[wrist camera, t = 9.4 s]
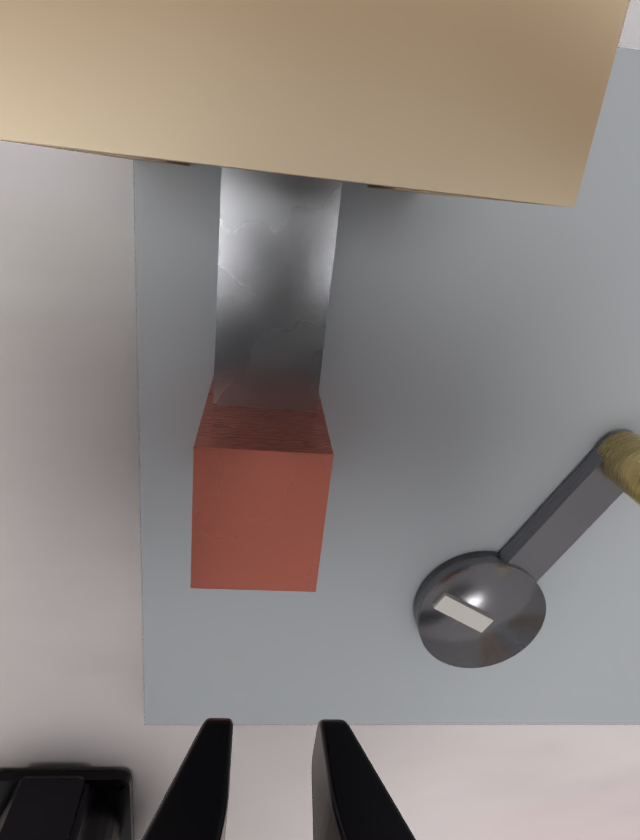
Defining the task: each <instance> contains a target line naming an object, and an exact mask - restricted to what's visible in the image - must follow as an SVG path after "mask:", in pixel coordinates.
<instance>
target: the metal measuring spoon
mask: <svg viewBox="0 0 640 840" xmlns="http://www.w3.org/2000/svg"><path fill="white" fill-rule="evenodd" d="M623 492H624V493H625V494H626V495H628V496H629V497H630V498H631V499H632V500H633V501H634V502H636V503H637V504H638V505H639V506H640V436H639V435H638V434H636V433H634V432H631V431H622V432H618V433H615V434H611V433H609V434H608V435H607V436H606V437H605V438H604V439H603V440H602V441H601V442H600V443H599V445H598V446H597V447H596V448H595V449H594V450H593V451H592V452H591V453H590V454H589V455H588V457H587V458H586V459H585V460H584V461H583V462H582V463H581V464H580V465H579V466H578V468H577V469H576V470H575V471H574V472H573V473H572V474H571V475H570V476H569V477H568V478H567V480H566V481H565V482H564V483H563V484H562V485H561V486H560V487H559V488H558V489H557V490H556V492H555V493H554V494H553V495H552V496H551V497H550V498H549V499H548V500H547V501H546V502H545V504H544V505H543V506H542V507H541V508H540V509H539V510H538V511H537V512H536V513H535V515H534V516H533V517H532V518H531V519H530V520H529V521H528V522H527V523H526V524H525V525H524V527H523V528H522V529H521V530H520V531H519V532H518V533H517V534H516V535H515V536H514V537H513V539H512V540H511V541H510V542H509V543H508V544H507V545H506V546H505V547H504V548H503V549H502V551H501V552H495V551H475V552H469V553H465V554H461V555H459V556H456V557H453V558H451V559H449V560H447V561H445V562H444V563H442V564H441V565H439V566H438V567H437V568H435V569H434V570H433V571H432V572H431V573H430V574H429V575H428V576H427V577H426V578H425V579H424V581H423V582H422V583H421V585H420V587H419V588H418V590H417V593H416V595H415V599H414V603H413V615H414V619H415V623H416V626H417V629H418V632H419V635H420V638H421V640H422V643H423V645H424V646H425V648H426V649H427V651H428V652H429V653H430V654H431V655H432V656H433V657H435V658H436V659H437V660H439V661H441V662H443V663H445V664H448V665H451V666H455V667H460V668H481V667H487V666H491V665H495V664H498V663H500V662H503V661H505V660H507V659H509V658H511V657H513V656H515V655H516V654H518V653H519V652H521V651H522V650H523V649H525V648H526V647H527V646H528V645H529V644H530V643H531V642H532V641H533V640H534V638H535V637H536V636H537V634H538V633H539V631H540V629H541V627H542V625H543V622H544V620H545V615H546V600H545V597H544V594H543V592H542V590H541V588H540V587H539V585H538V584H537V581H538V580H539V579H540V578H541V577H542V576H543V575H544V574H545V573H546V572H547V571H548V570H549V569H550V568H551V567H552V566H553V565H554V564H555V563H556V562H557V560H558V559H559V558H560V557H561V556H562V555H563V554H564V553H565V552H566V551H567V550H568V549H569V548H570V547H571V546H572V545H573V544H574V543H575V542H576V541H577V540H578V539H579V538H580V537H581V536H582V535H583V533H584V532H585V531H586V530H587V529H588V528H589V527H590V526H591V525H592V524H593V523H594V522H595V521H596V520H597V519H598V518H599V517H600V516H601V515H602V514H603V513H604V512H605V511H606V510H607V509H608V507H609V506H610V505H611V504H612V503H613V502H614V501H615V500H616V499H617V498H618V497H619V496H620V495H621V494H622V493H623Z"/></svg>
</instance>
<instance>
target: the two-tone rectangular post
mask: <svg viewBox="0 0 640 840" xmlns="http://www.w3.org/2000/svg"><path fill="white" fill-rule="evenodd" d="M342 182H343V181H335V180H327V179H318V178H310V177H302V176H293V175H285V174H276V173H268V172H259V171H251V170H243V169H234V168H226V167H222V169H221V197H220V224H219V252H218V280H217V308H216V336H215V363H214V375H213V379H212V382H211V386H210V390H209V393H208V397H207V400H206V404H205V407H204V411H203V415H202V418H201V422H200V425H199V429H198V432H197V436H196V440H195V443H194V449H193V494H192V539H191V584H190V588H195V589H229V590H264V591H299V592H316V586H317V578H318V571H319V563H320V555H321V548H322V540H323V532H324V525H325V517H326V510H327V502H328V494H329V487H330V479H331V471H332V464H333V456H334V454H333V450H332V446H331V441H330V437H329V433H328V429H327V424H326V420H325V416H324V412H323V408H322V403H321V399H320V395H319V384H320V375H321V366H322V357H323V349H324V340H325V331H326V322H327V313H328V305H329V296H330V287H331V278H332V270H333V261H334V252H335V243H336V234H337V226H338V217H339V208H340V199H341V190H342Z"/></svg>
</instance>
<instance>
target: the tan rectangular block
mask: <svg viewBox="0 0 640 840" xmlns="http://www.w3.org/2000/svg"><path fill="white" fill-rule="evenodd" d="M629 2H630V0H0V140H3V141H9V142H16V143H23V144H30V145H37V146H44V147H50V148H57V149H64V150H71V151H78V152H85V153H91V154H98V155H105V156H112V157H119V158H125V159H132V160H141V161H149V162H157V163H166V164H174V165H183V166H189V164H190V163H192V164H200V165H209V166H217V167H226V168H234V169H243V170H251V171H259V172H268V173H276V174H285V175H293V176H302V177H310V178H318V179H327V180H335V181H344V182H352V183H361V184H368V187H369V188H378V189H386V190H395V191H403V192H412V193H421V194H432V195H442V196H453V197H464V198H475V199H486V200H497V201H507V202H518V203H529V204H540V205H551V206H562V207H572V208H575V204H576V201H577V197H578V193H579V189H580V186H581V182H582V178H583V174H584V171H585V167H586V163H587V159H588V156H589V152H590V148H591V144H592V141H593V137H594V133H595V129H596V126H597V122H598V118H599V114H600V111H601V107H602V103H603V99H604V96H605V92H606V88H607V84H608V81H609V77H610V73H611V69H612V66H613V62H614V58H615V54H616V51H617V47H618V43H619V39H620V36H621V32H622V28H623V24H624V21H625V17H626V13H627V9H628V5H629Z"/></svg>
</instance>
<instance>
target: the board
mask: <svg viewBox="0 0 640 840" xmlns="http://www.w3.org/2000/svg"><path fill="white" fill-rule="evenodd" d="M133 169H134V219H135V269H136V320H137V370H138V420H139V471H140V521H141V571H142V622H143V672H144V722H145V725H202V724H203V723H204V721H205V720H206V719H208V718H230V719H231V720H232V721H233V725H318V723H319V722H320V720H322V719H341V720H344V721H346V722H347V724H348V725H640V506H639V505H638V504H637V503H636V502H634V501H633V500H632V499H631V498H630V497H629V496H628V495H626V494H625V493H624V492H623V493H622V494H621V495H620V496H619V497H618V498H617V499H616V500H615V501H614V502H613V503H612V504H611V505H610V506H609V507H608V509H607V510H606V511H605V512H604V513H603V514H602V515H601V516H600V517H599V518H598V519H597V520H596V521H595V522H594V523H593V524H592V525H591V526H590V527H589V528H588V529H587V530H586V531H585V532H584V533H583V535H582V536H581V537H580V538H579V539H578V540H577V541H576V542H575V543H574V544H573V545H572V546H571V547H570V548H569V549H568V550H567V551H566V552H565V553H564V554H563V555H562V556H561V557H560V558H559V559H558V560H557V562H556V563H555V564H554V565H553V566H552V567H551V568H550V569H549V570H548V571H547V572H546V573H545V574H544V575H543V576H542V577H541V578H540V579H539V580H538V581H537V584H538V585H539V587H540V588H541V590H542V592H543V594H544V597H545V600H546V615H545V620H544V622H543V625H542V627H541V629H540V631H539V633H538V634H537V636H536V637H535V638H534V640H533V641H532V642H531V643H530V644H529V645H528V646H527V647H526V648H525V649H523V650H522V651H521V652H519V653H518V654H516V655H515V656H513V657H511V658H509V659H507V660H505V661H503V662H500V663H498V664H495V665H491V666H487V667H481V668H460V667H455V666H451V665H448V664H445V663H443V662H441V661H439V660H437V659H436V658H435V657H433V656H432V655H431V654H430V653H429V652H428V651H427V649H426V648H425V646H424V645H423V643H422V640H421V638H420V635H419V632H418V629H417V626H416V623H415V619H414V615H413V603H414V599H415V595H416V593H417V590H418V588H419V587H420V585H421V583H422V582H423V581H424V579H425V578H426V577H427V576H428V575H429V574H430V573H431V572H432V571H433V570H434V569H435V568H437V567H438V566H439V565H441V564H442V563H444V562H445V561H447V560H449V559H451V558H453V557H456V556H459V555H461V554H465V553H469V552H475V551H495V552H501V551H502V549H503V548H504V547H505V546H506V545H507V544H508V543H509V542H510V541H511V540H512V539H513V537H514V536H515V535H516V534H517V533H518V532H519V531H520V530H521V529H522V528H523V527H524V525H525V524H526V523H527V522H528V521H529V520H530V519H531V518H532V517H533V516H534V515H535V513H536V512H537V511H538V510H539V509H540V508H541V507H542V506H543V505H544V504H545V502H546V501H547V500H548V499H549V498H550V497H551V496H552V495H553V494H554V493H555V492H556V490H557V489H558V488H559V487H560V486H561V485H562V484H563V483H564V482H565V481H566V480H567V478H568V477H569V476H570V475H571V474H572V473H573V472H574V471H575V470H576V469H577V468H578V466H579V465H580V464H581V463H582V462H583V461H584V460H585V459H586V458H587V457H588V455H589V454H590V453H591V452H592V451H593V450H594V449H595V448H596V447H597V446H598V445H599V443H600V442H601V441H602V440H603V439H604V438H605V437H606V436H607V435H608V434H609V433H611V434H615V433H618V432H622V431H631V432H634V433H636V434H638V435H639V436H640V50H633V49H627V48H620V47H617V51H616V54H615V58H614V62H613V66H612V69H611V73H610V77H609V81H608V84H607V88H606V92H605V96H604V99H603V103H602V107H601V111H600V114H599V118H598V122H597V126H596V129H595V133H594V137H593V141H592V144H591V148H590V152H589V156H588V159H587V163H586V167H585V171H584V174H583V178H582V182H581V186H580V189H579V193H578V197H577V201H576V204H575V208H572V207H562V206H551V205H540V204H529V203H518V202H507V201H497V200H486V199H475V198H464V197H453V196H442V195H432V194H421V193H412V192H403V191H395V190H386V189H378V188H369V187H368V184H361V183H352V182H344V181H343V182H342V190H341V199H340V208H339V217H338V226H337V234H336V243H335V252H334V261H333V270H332V278H331V287H330V296H329V305H328V313H327V322H326V331H325V340H324V349H323V357H322V366H321V375H320V384H319V395H320V399H321V403H322V408H323V412H324V416H325V420H326V424H327V429H328V433H329V437H330V441H331V446H332V450H333V454H334V456H333V464H332V471H331V479H330V487H329V494H328V502H327V510H326V517H325V525H324V532H323V540H322V548H321V555H320V563H319V571H318V578H317V586H316V592H299V591H264V590H229V589H195V588H190V584H191V539H192V494H193V449H194V443H195V440H196V436H197V432H198V429H199V425H200V422H201V418H202V415H203V411H204V407H205V404H206V400H207V397H208V393H209V390H210V386H211V382H212V379H213V375H214V363H215V336H216V308H217V280H218V252H219V224H220V197H221V169H222V167H217V166H209V165H200V164H192V163H190V164H189V166H183V165H174V164H166V163H157V162H149V161H141V160H133Z"/></svg>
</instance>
